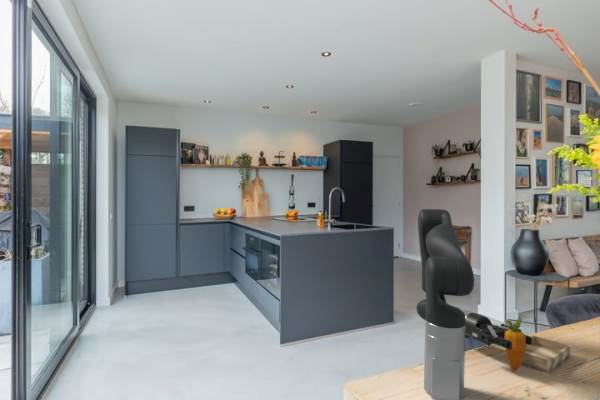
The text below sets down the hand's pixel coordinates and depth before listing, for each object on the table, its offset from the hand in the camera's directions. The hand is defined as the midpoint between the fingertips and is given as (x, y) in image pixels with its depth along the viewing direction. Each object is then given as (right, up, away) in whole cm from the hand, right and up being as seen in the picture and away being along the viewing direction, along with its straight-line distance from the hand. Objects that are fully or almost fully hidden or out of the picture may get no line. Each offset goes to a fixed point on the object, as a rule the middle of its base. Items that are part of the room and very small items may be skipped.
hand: (521, 343), depth 96 cm
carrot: (-1, -9, +2) cm, 9 cm away
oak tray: (+12, -9, +10) cm, 18 cm away
